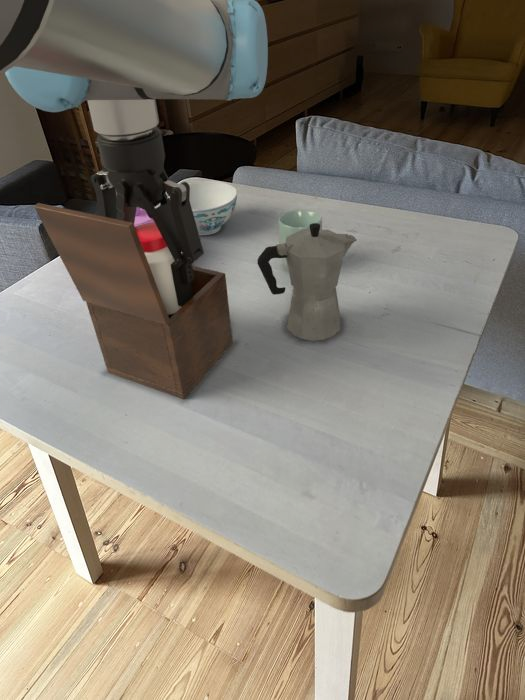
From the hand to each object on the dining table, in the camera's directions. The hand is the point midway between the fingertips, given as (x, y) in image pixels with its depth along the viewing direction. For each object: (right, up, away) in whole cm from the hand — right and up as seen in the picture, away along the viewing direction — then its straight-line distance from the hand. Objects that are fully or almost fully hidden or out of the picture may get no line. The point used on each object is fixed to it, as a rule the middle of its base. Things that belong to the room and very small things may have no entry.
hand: (161, 294), depth 77 cm
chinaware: (+2, +19, +41) cm, 45 cm away
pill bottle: (0, -1, +1) cm, 1 cm away
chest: (0, -9, +7) cm, 11 cm away
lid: (-4, +2, -12) cm, 13 cm away
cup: (+22, +8, +26) cm, 35 cm away
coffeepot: (+22, -4, +12) cm, 25 cm away
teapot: (-9, +10, +31) cm, 34 cm away
